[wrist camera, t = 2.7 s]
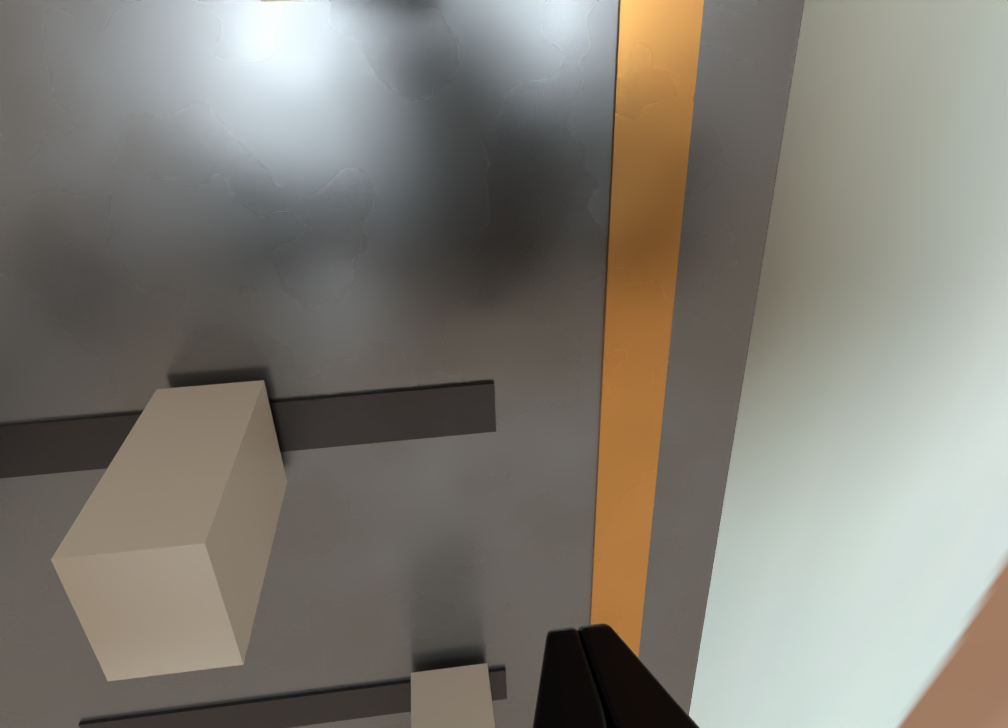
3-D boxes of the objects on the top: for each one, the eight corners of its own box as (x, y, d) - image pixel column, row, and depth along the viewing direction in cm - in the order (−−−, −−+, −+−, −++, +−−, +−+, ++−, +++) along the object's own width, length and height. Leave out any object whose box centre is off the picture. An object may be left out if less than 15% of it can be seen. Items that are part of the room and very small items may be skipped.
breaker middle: (189, 491, 14) (107, 681, 10) (156, 389, 13) (49, 559, 9) (286, 482, 15) (242, 664, 11) (263, 379, 13) (204, 543, 9)
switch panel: (-34, 779, 21) (-75, 854, 19) (-884, -450, 8) (-1237, -569, 7) (663, 685, 23) (685, 745, 21) (804, -407, 11) (887, -490, 9)
